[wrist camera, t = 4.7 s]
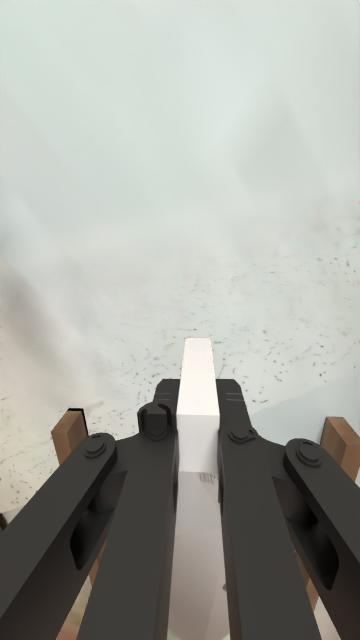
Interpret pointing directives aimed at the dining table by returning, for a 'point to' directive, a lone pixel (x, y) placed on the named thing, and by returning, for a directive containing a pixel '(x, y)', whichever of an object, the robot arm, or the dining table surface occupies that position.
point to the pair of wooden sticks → (334, 440)
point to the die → (198, 561)
